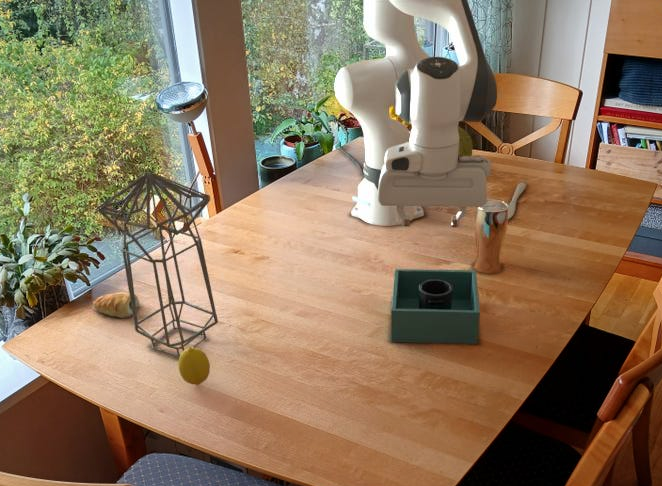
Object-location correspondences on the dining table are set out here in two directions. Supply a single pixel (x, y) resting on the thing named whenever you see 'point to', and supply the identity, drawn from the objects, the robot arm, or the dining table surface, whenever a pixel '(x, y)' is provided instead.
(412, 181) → the robot arm
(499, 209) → the beer glass
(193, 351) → the lemon
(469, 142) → the fruit
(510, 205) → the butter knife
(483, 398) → the dining table surface
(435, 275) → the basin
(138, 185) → the geometric lantern
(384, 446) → the dining table surface
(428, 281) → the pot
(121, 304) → the pastry
